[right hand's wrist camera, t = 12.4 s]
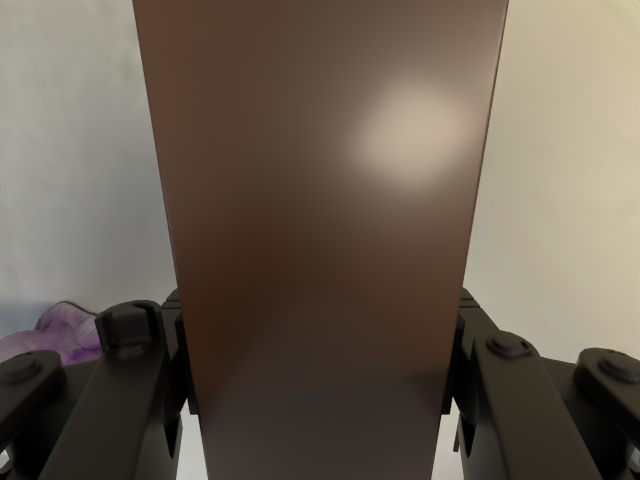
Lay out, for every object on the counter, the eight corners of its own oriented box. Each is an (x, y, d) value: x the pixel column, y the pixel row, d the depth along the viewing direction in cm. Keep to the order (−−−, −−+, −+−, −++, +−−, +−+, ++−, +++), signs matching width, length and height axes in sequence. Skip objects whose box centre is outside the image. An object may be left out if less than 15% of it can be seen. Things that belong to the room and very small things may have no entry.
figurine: (20, 289, 29) (-266, 460, 15) (145, 313, 30) (-14, 497, 16) (27, 377, 32) (-203, 587, 18) (139, 397, 33) (4, 612, 19)
